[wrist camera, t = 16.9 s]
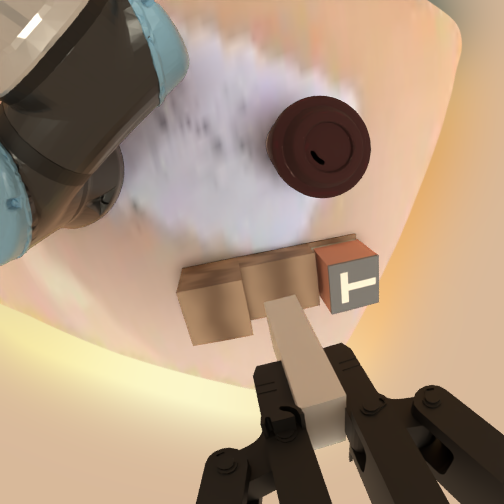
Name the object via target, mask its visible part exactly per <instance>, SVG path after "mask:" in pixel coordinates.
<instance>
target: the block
mask: <svg viewBox="0 0 504 504" xmlns="http://www.w3.org/2000/svg"><path fill="white" fill-rule="evenodd" d="M313 251H314V253H315V260H316V269H317V279H318V289H319V295H320V296H321V298H322V300H323V301H324V303H325V304H326V306H327V308H328V309H329V311H330V312H331V314H336V313H340V312H344V311H348V310H352V309H356V308H359V307H363V306H367V305H371V304H374V303H378V302H379V255H377V254H376V253H375V252H373V251H372V250H371V249H370V248H368V247H367V246H366V245H364V244H363V243H362V242H360V241H359V240H358V239H357V240H352V241H347V242H342V243H338V244H333V245H328V246H323V247H318V248H313Z"/></svg>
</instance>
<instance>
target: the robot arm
mask: <svg viewBox="0 0 504 504" xmlns="http://www.w3.org/2000/svg"><path fill="white" fill-rule="evenodd" d="M188 67H189V57H188V52H187V49H186V46H185V44H184V42H183V39H182V38H181V36H180V34H179V32H178V30H177V28H176V27H175V25H174V24H173V22H172V21H171V19H170V17H169V16H168V15H167V13H166V12H165V11H164V9H163V8H162V7H161V6H160V4H158V3H156V2H154V0H0V101H2V102H1V104H0V266H2V265H4V264H6V263H8V262H10V261H12V260H14V259H18V258H20V257H22V256H23V254H25V253H26V252H27V250H29V249H30V248H32V247H33V246H34V245H36V244H37V243H39V242H40V241H42V240H43V239H45V238H46V237H48V236H49V235H51V234H52V233H54V232H55V231H57V230H58V229H60V228H67V229H76V228H81V227H85V226H87V225H90V224H92V223H94V222H95V221H97V220H98V219H100V218H101V217H102V216H104V215H105V214H106V213H107V212H108V211H109V210H110V209H111V208H112V206H113V205H114V203H115V202H116V200H117V198H118V196H119V194H120V191H121V188H122V184H123V178H124V163H123V157H122V153H121V150H120V148H119V146H118V145H119V144H120V143H121V142H122V141H123V140H124V139H125V138H126V137H127V136H128V135H129V134H130V133H131V131H132V130H133V129H134V128H135V127H136V126H137V125H138V124H139V123H140V122H141V121H142V120H143V119H144V118H145V117H146V116H147V115H148V114H149V113H150V112H151V111H152V110H153V109H154V108H155V107H159V106H160V105H161V104H162V102H163V101H164V99H165V97H166V96H167V95H168V94H169V93H170V92H171V91H172V90H173V89H174V88H175V87H176V86H177V85H178V84H179V83H180V82H181V81H182V80H183V79H184V77H185V75H186V73H187V70H188ZM264 306H265V311H266V316H267V321H268V325H269V330H270V335H271V340H272V344H273V349H274V352H275V355H276V358H277V362H272V363H268V364H264V365H260V366H256V369H255V372H254V375H253V378H254V383H255V388H256V393H257V398H258V403H259V407H260V412H261V428H262V434H261V435H260V437H259V438H258V439H257V440H256V441H255V442H254V443H252V444H251V445H249V446H247V447H245V448H243V449H241V450H238V449H234V448H224V449H220V450H218V451H216V452H214V453H213V454H212V455H210V456H209V458H208V459H207V461H206V463H205V468H204V472H203V476H202V480H201V484H200V489H199V493H198V497H197V501H196V504H262V497H263V496H265V495H267V494H269V493H271V492H273V491H275V490H277V494H278V499H279V503H280V504H332V502H331V499H330V496H329V493H328V490H327V487H326V485H325V482H324V479H323V476H322V473H321V470H320V467H319V464H318V461H317V458H316V455H315V453H314V450H316V449H319V448H323V447H326V446H329V445H333V444H336V443H339V442H342V441H345V439H346V435H347V438H348V440H349V442H350V448H349V460H350V462H351V461H352V460H354V462H355V465H356V467H357V469H358V472H359V474H360V477H361V479H362V481H363V483H364V486H365V488H366V491H367V493H368V496H369V498H370V500H371V503H372V504H449V502H448V500H447V498H446V496H445V495H444V493H443V491H442V489H441V488H440V486H439V484H438V483H437V481H438V482H439V483H440V484H441V485H442V486H443V487H444V488H445V489H446V490H447V491H448V492H449V493H450V494H451V495H453V497H454V498H456V500H458V502H460V503H461V504H504V435H503V434H502V433H501V432H499V431H498V430H496V429H495V428H494V427H493V426H492V425H490V424H489V423H488V422H486V421H485V420H484V419H483V418H481V417H480V416H479V415H477V414H476V413H475V412H474V411H472V410H471V409H470V408H468V407H467V406H466V405H465V404H463V403H462V402H461V401H460V400H458V399H457V398H456V397H454V396H453V395H452V394H451V393H449V392H448V391H447V390H445V389H443V388H442V387H440V386H435V385H429V386H425V387H423V388H421V389H419V390H418V391H417V392H416V394H415V396H414V397H411V398H404V399H390V398H386V397H385V396H384V395H382V394H379V393H378V392H377V391H376V389H375V388H374V386H373V384H372V383H371V381H370V379H369V378H368V376H367V374H366V373H365V371H364V369H363V368H362V366H361V365H360V363H359V361H358V360H357V359H356V356H355V355H354V353H353V351H352V350H351V349H350V348H349V347H347V346H346V345H344V344H343V343H339V344H336V345H332V346H329V347H325V348H322V346H321V344H320V342H319V340H318V338H317V336H316V334H315V332H314V330H313V328H312V326H311V324H310V322H309V321H308V319H307V317H306V315H305V313H304V311H303V309H302V307H301V305H300V303H299V301H298V299H297V297H296V295H292V296H288V297H284V298H280V299H276V300H271V301H267V302H264Z"/></svg>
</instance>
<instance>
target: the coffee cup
mask: <svg viewBox="0 0 504 504" xmlns="http://www.w3.org/2000/svg"><path fill="white" fill-rule="evenodd" d="M266 149H267V153H268V155H269V158H270V160H271V162H272V163H273V165H274V167H275V169H276V170H277V172H278V174H279V175H280V177H281V178H282V179H283V180H284V181H285V182H286V183H287V184H288V185H289V186H291V187H292V188H293V189H295V190H297V191H298V192H300V193H302V194H304V195H307V196H310V197H315V198H330V197H335V196H338V195H341V194H343V193H345V192H347V191H348V190H350V189H351V188H353V187H354V186H355V185H356V184H357V183H358V182H359V180H360V179H361V178H362V176H363V175H364V173H365V171H366V169H367V166H368V163H369V160H370V153H371V145H370V137H369V134H368V130H367V128H366V125H365V123H364V122H363V120H362V119H361V117H360V116H359V115H358V113H357V112H356V111H355V110H354V109H353V108H352V107H350V106H349V105H348V104H346V103H344V102H342V101H341V100H338V99H336V98H333V97H328V96H312V97H307V98H304V99H301V100H299V101H297V102H295V103H293V104H292V105H290V106H289V107H287V108H286V109H285V110H284V111H283V112H282V113H281V115H280V116H279V117H278V119H277V120H276V122H275V124H274V125H273V126H272V128H271V130H270V132H269V134H268V136H267V140H266Z"/></svg>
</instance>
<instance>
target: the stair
mask: <svg viewBox="0 0 504 504" xmlns="http://www.w3.org/2000/svg"><path fill="white" fill-rule="evenodd" d="M352 240H356V234H350V235H345V236H340V237H336V238H331V239H326V240H321V241H316V242H311V243H306V244H301V245H296V246H291V247H286V248H281V249H276V250H271V251H266V252H261V253H256V254H251V255H246V256H241V257H236V258H231V259H226V260H221V261H216V262H211V263H206V264H201V265H196V266H191V267H186V268H182V272H181V276H180V280H179V284H178V288H177V292H176V293H177V297H178V300H179V303H180V307H181V310H182V313H183V316H184V319H185V322H186V325H187V329H188V332H189V335H190V338H191V341H192V344H193V346H196V345H202V344H208V343H213V342H219V341H225V340H230V339H235V338H240V337H246V336H251V335H253V330H252V325H251V320H254V319H259V318H264V317H267V316H266V311H265V306H264V302H267V301H271V300H276V299H280V298H284V297H288V296H292V295H296V297H297V299H298V301H299V303H300V305H301V307H302V309H305V308H310V307H314V306H318V305H320V300H319V289H318V279H317V269H316V260H315V253H314V251H313V248H318V247H323V246H328V245H333V244H338V243H342V242H347V241H352Z"/></svg>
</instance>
